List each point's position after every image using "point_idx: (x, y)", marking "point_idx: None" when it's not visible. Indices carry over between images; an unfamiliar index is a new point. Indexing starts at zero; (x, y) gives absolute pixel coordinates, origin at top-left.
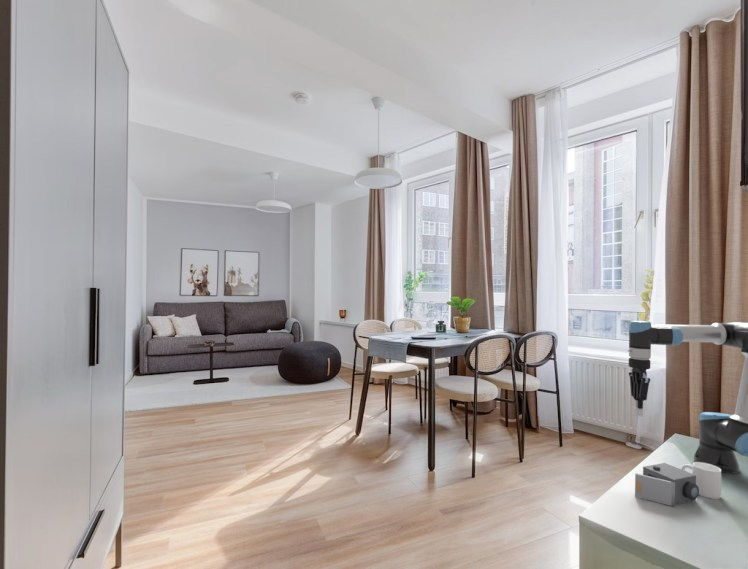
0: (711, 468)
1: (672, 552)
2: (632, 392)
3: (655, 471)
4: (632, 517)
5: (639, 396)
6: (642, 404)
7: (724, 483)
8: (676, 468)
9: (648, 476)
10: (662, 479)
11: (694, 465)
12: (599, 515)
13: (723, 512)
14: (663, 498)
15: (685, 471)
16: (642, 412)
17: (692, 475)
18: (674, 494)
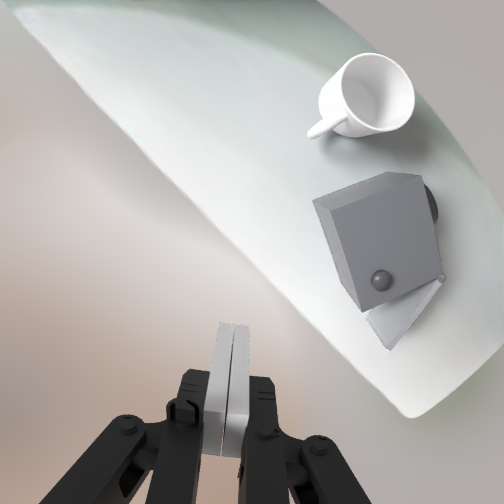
0: (354, 61)
1: (496, 344)
2: (138, 484)
3: (394, 294)
4: (430, 360)
5: (309, 499)
6: (275, 407)
7: (272, 4)
8: (376, 202)
9: (406, 324)
10: (425, 296)
11: (374, 129)
12: (413, 404)
13: (434, 151)
14: None
15: (397, 188)
16: (247, 345)
17: (422, 189)
18: None
